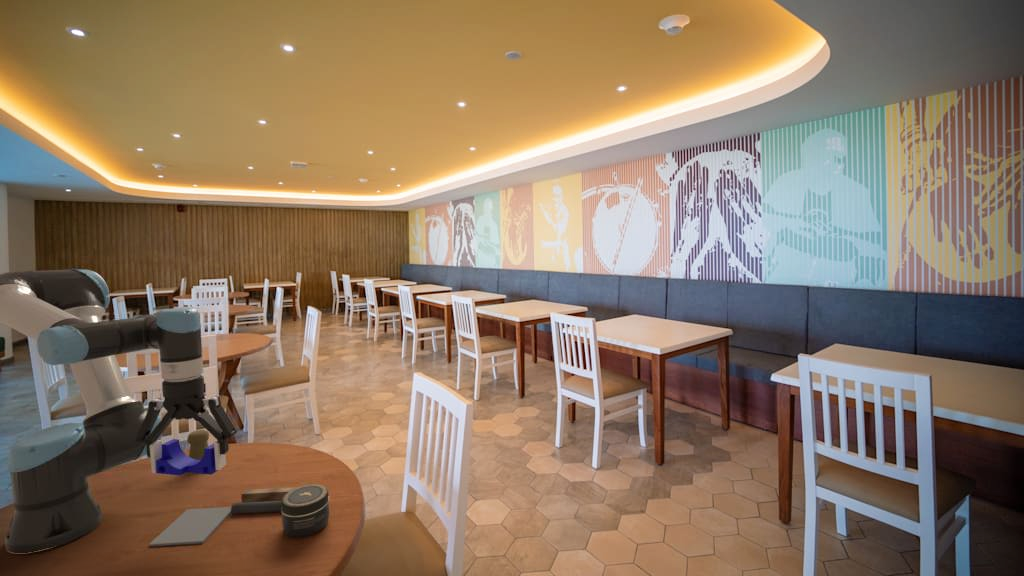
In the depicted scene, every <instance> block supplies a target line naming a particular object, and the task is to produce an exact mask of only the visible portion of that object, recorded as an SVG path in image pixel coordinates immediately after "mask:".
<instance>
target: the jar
mask: <svg viewBox="0 0 1024 576" xmlns="http://www.w3.org/2000/svg"><path fill="white" fill-rule="evenodd" d="M296 487H297V488H295V489H293V490H291V491H289V492H288V493H287V494H285V495H284V497H283V498H282V501H281V511H280V512H281V522H282V523H281V524H282V528H283V530H284V531H283V532H285V535H287V536H289V537H290V538H294V539H301V538H306V537H311V536H314V535H315V534H317V533H319V532H320V531H321V530H322V531H323V529H324V528H325V527H326V525H327V523H328V521H329V517H330V504H329V503H330V502H329V501H330V495H329V489H328V488H327V487H326V486H324V484H320V483H319V484H317V483H312V484H310V483H309V484H304V485H301V486H296Z"/></svg>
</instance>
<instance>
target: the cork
mask: <svg viewBox="0 0 1024 576" xmlns="http://www.w3.org/2000/svg"><path fill="white" fill-rule="evenodd" d="M209 438H210V432H209V431H208V430H207V429H199V430H198V429H197V430H194V431H191V432H190V433H189V434H188V435H187V443H188V444H189V452H188V453H189V455H188V457H190V458H192V459H196V460H201V459H202V458H203V455H204V452H205V448H206V447H208V446H209V443H208V442H209V441H208V440H209Z"/></svg>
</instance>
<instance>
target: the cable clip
mask: <svg viewBox="0 0 1024 576" xmlns="http://www.w3.org/2000/svg"><path fill="white" fill-rule="evenodd" d="M156 471H157V472H156V473H155V474H160V475H170V476H171V475H172V476H183V475H185V474H186V473H190V474H191V473H192V474H200V475H212V474H215V473H216V472H218V471H219V470H216V465H215V450H214V443H212V444H210V445H208V447H206V448H205V452H204V455H203V458H202V459H201V460H196V459H192V458H190V457H189V455H187V454H186V453H185V452H184V450H183V448H182V447H181V444H180V439H179V438H177V439H176V438H172V439H170V440H168V441H166V442H164V443H162V458H160V459H158V460H156Z"/></svg>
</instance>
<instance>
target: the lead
mask: <svg viewBox="0 0 1024 576" xmlns="http://www.w3.org/2000/svg"><path fill="white" fill-rule="evenodd" d="M230 507H231V514H230V515H237V514H238V515H239V514H243V515H244V514H258V513H260V514H262V513H275V512H276V513H277V512H281V501H266V502H247V503H242V502H234V503H232V505H231V506H230Z"/></svg>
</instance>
